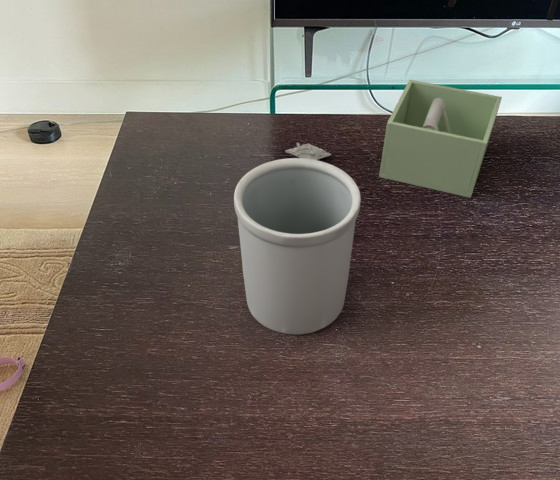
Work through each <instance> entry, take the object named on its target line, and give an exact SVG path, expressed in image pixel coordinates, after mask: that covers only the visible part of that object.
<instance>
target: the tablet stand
mask: <svg viewBox="0 0 560 480" xmlns="http://www.w3.org/2000/svg"><path fill="white" fill-rule="evenodd" d="M441 116H442V117H443V119H444V123H445V128H446V132H447V133H450V134H452V133H451V128H450V124H449V119H448V114H447V110H446V105H445V102H444V100H443V99H441V98H436V99H434V100H433V102H432V104H431V107H430V109H429V112H428V115H427V117H426V120H425V122H424V125H423V127H422V128H426V129H431V130H436V131H439V129H438V123H439V120H440V118H441Z"/></svg>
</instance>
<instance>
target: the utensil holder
mask: <svg viewBox="0 0 560 480" xmlns="http://www.w3.org/2000/svg"><path fill="white" fill-rule="evenodd" d="M361 200H362V199H361V192H360V189H359V186H358V185H357V184H356V181H355V180H354V179H353V178H352V177H351V176H350V175H349V174H348V173H347V172H345V171H344V170H343V169H341V168H339V167H338V166H335V165H333V164H331V163H328V162H324V161H321V160H319V159H317V160H315V159H314V160H312V159H303V158H299V157H292V158H291V157H290V158H280V159H275V160H272V161H268V162H264V163H262V164H260V165H258V166H256V167H254V168H251V170H249V171H247V172H246V173H245V174H244V175H243V176H242V177H241V179H239V181H238V182H237V184H236V186H235V189H234V193H233V205H234V206H233V207H234V212H235V214H236V217H237V226H238V235H239V246H240V255H241V265H242V274H243V275H242V276H243V283H244V291H245V299H246V304H247V308H248V310H249V312H250V314H251V316H252V317H253V318H254V319H255V320H256V321H257V322H258V323H259V324H260V325H262V326H263V327H265V328H267V329H269V330H271V331H273V332H277V333H280V334H284V335H296V336H297V335H306V334H312V333H315V332H317V331H320V330H322V329H324V328H326V327H328V326H330V325H331V324H332V323H333V322H334V321H335V320H336V319H337V318H338V317H339V315H340V314H341V312H342V310H343V308H344V305H345V299H346V293H347V288H348V281H349V273H350V266H351V259H352V251H353V245H354V238H355V237H354V236H355V229H356V221H357V218H358V216H359V213H360V210H361V202H362V201H361Z"/></svg>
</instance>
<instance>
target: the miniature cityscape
mask: <svg viewBox="0 0 560 480" xmlns="http://www.w3.org/2000/svg"><path fill="white" fill-rule="evenodd" d="M286 152H288V154H290V155H293V156H295V157H296V158H303V159H312V160H320V159H323V158H325V157H326V158H327V157H329V156H331V155H332V153H329V152H327V150H324V149H323V148H319V147H318V146H315V145H312V144H310V143H309V142H308V143H305V144H302V145H301V144H300V142H296V147H293V148H290V149H287V150H286Z"/></svg>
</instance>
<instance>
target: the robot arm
mask: <svg viewBox="0 0 560 480" xmlns="http://www.w3.org/2000/svg"><path fill="white" fill-rule="evenodd" d="M559 1H560V0H551V3H550V7H549V10H548V14H547V16H546V21H550V22H551V21H553V20H554V17H555V15H556V14H555V13H556V12H557V11H556V10H557V7H558V5H559ZM447 3H448V4H447V7H449V8H454V6H455V4H456V3H457V0H448V2H447Z"/></svg>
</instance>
